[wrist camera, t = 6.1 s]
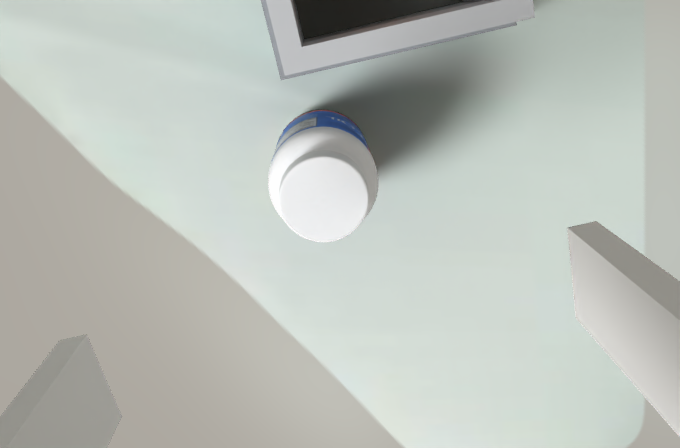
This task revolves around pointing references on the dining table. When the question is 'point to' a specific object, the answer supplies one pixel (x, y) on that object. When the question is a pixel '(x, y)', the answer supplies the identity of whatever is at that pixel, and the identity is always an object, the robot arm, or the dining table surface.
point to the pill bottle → (322, 176)
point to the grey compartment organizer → (382, 33)
